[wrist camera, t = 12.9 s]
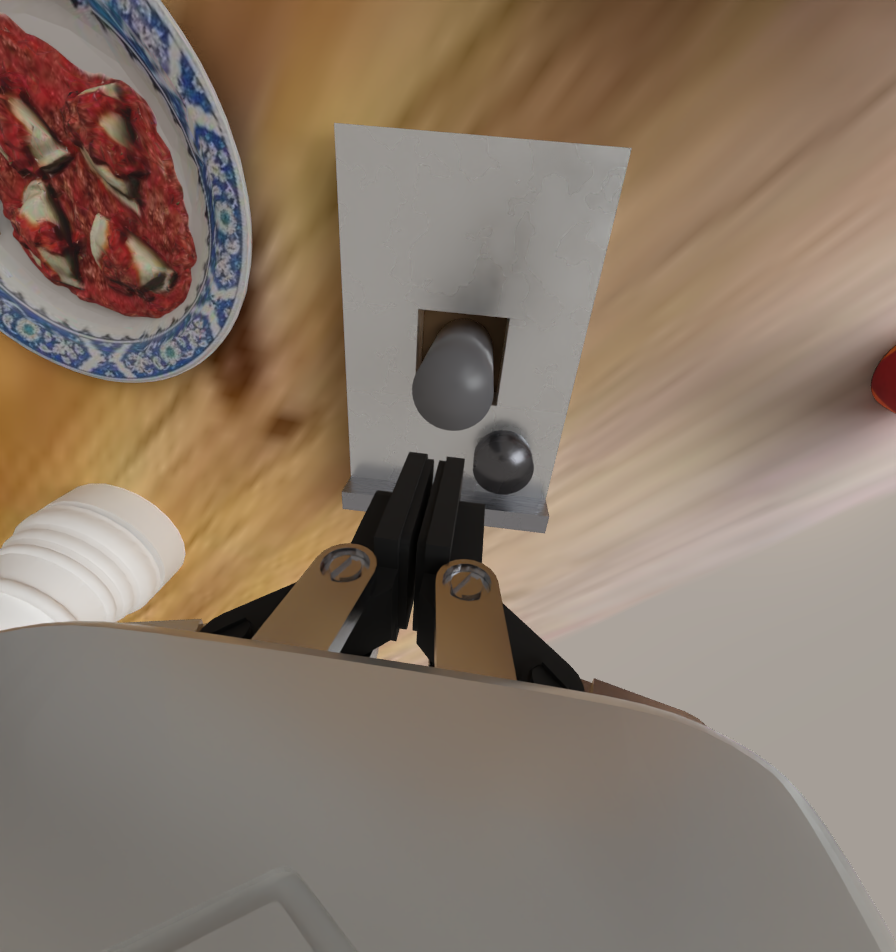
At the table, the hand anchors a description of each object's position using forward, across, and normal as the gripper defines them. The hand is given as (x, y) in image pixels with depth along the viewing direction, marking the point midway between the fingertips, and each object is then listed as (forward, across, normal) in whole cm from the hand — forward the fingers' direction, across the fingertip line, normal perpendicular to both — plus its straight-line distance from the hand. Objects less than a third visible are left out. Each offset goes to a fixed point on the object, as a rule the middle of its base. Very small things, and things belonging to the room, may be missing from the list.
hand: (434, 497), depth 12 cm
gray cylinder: (+21, +1, +1) cm, 21 cm away
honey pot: (+20, +35, +24) cm, 47 cm away
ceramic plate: (+21, +28, -7) cm, 36 cm away
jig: (+21, +1, +1) cm, 21 cm away
